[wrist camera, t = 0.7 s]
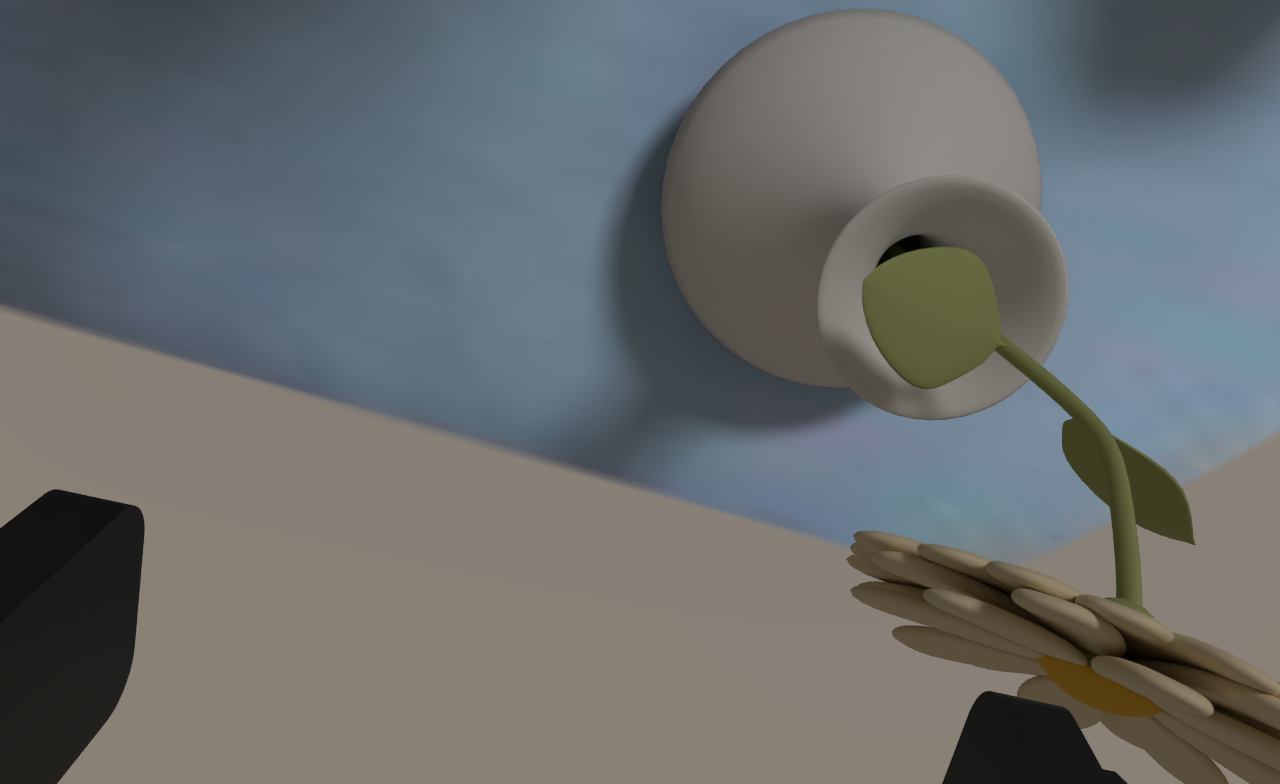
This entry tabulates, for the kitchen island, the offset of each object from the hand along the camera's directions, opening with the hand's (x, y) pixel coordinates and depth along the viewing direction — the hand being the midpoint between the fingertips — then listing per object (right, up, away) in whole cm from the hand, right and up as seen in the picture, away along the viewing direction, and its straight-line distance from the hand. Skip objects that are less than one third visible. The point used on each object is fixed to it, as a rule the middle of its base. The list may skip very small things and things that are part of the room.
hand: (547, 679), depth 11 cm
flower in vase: (+8, +8, +25) cm, 28 cm away
